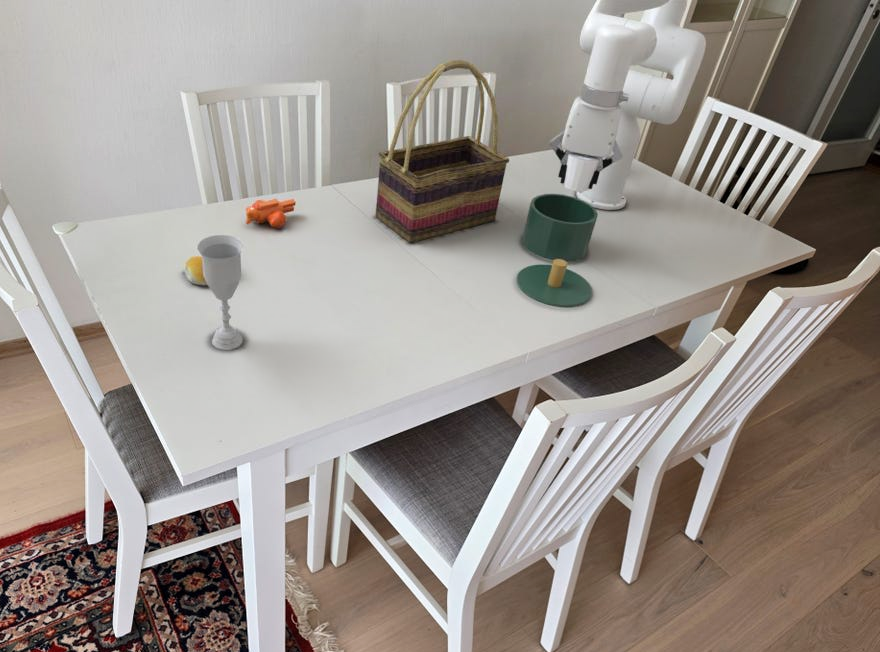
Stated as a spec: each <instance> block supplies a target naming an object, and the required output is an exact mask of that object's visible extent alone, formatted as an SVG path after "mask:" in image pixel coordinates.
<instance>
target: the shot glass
mask: <svg viewBox="0 0 880 652" xmlns="http://www.w3.org/2000/svg"><path fill="white" fill-rule="evenodd" d="M598 162H599V159H596V157H595V156H590V155H584V154H579V153H574V152H573V154H569V155H568V161H567V163H566V165H567V169H566V176H565V181H564V183H563V184H562V186H563V187H564V188H565V189H567V190H569V191H574V192H576V193H577V192H585V191H587V190H589V184H590V181H591V179H592V176H593V174H594V171H596V169H597V165H598Z"/></svg>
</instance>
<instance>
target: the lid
mask: <svg viewBox="0 0 880 652" xmlns="http://www.w3.org/2000/svg"><path fill="white" fill-rule="evenodd" d="M567 267H568V261H564V260H562V259H555V260H552V264H532V265H529V266H526V267H524V268H522V269H521V270H519V272H518V273H517V276H516V283H517V286H518V287H519V289H520V291H522V292H523V294H525V295H526V296H527V297H529V298H530V299H532V300H535V301H536V302H539V303H542V304H544V305H548V306H553V307H559V308H570V307H571V308H573V307H577V306H581V305H583V304H586V303H587V302H588V301H590V299H591V297H592V292H593V291H592V290H593V289H592V287H591V284H590V283H589V282H588V280H586V278H584V277H583V276H581V275H580V274H578V273H577V272H575V271H573V270H570V269H568V268H567Z"/></svg>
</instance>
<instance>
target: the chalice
mask: <svg viewBox="0 0 880 652" xmlns="http://www.w3.org/2000/svg"><path fill="white" fill-rule="evenodd" d="M243 249H244V243H243V242H242V240H240V239H239V238H237V237H235V236H232V235H227V234H216V235H211V236H208V237H205V238H203V239H202V240H201V241H199V243H198V244H197V250H198V252H199V254H200V255H201V257H202V265H203V276H204V278H205V280H206V282H207V284H208V285H207V287H208V288H209V289H210V291H211V292H212V294H213V296H214V297H215V299H217V300H219V301H221V305H220V307H219V309H220V310H221V312H222V314H221V315H220V317H219V318H220V319H221V320H222V322H223V324H222V325H220V326H218V327H217V329H215V333H214V335H213V337H212V339H211V343H212V345H213V346H214V347H215V348H216V349H219V350H223V351H229V350H230V351H231V350H235V349H236V348H239V347H240V346H241V345H242V343H243V337H242V336H241V335H242V334H241V333H240V332H239V329H238V328H237V327H235V326H234V325H232V324H230V319H231V318H232V315H231V314H229V310H230V309H231V306H230V305H229V302H228V300H231V299H232V298H233V296H234V294H235V292H236V290H237V288H238V286H239V284H240V281H241V278H242V258H241V256H242V255H241V253H242V252H243Z"/></svg>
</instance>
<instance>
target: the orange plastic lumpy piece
mask: <svg viewBox="0 0 880 652" xmlns="http://www.w3.org/2000/svg"><path fill="white" fill-rule="evenodd" d="M296 203H297V202H296V201H295V199H294V198H290V199H288V200H283V201H279V200H278V199H277V198H274V199H270V200H266V201H265V200H260V199H257V200H256V201H255V202H254V203H252V205H251V206H247V207H246V209H245V211H246V220H245V224H246V225H249V224H251V223H252V222H256V223H257V224H262V223H266V222H268V223H269V225H270V226H271V227H274V228H277V229H279V228H281V227H282V226H283V225H284V224H285V223H287V217H286V215H285V214H286V213H291V212H294V211H295V206H296Z"/></svg>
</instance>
